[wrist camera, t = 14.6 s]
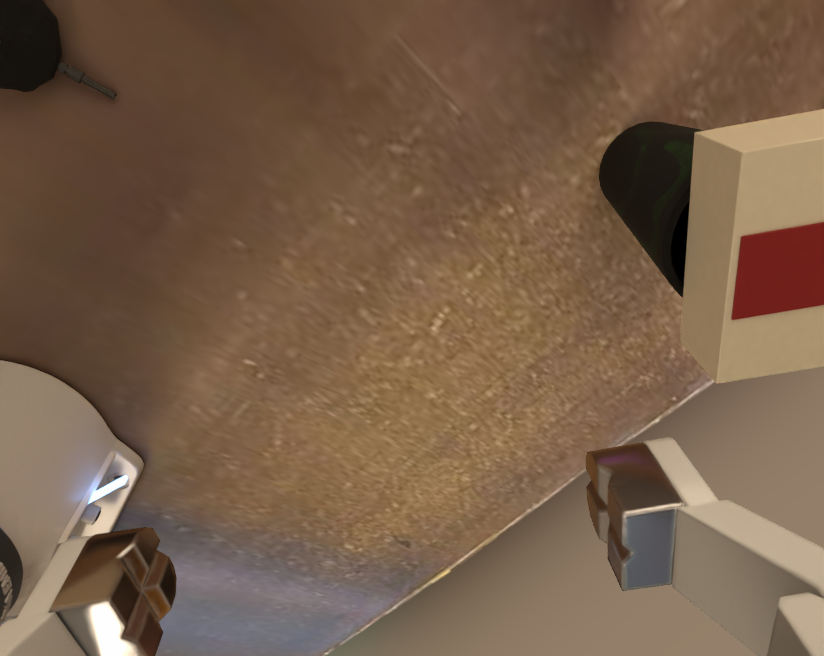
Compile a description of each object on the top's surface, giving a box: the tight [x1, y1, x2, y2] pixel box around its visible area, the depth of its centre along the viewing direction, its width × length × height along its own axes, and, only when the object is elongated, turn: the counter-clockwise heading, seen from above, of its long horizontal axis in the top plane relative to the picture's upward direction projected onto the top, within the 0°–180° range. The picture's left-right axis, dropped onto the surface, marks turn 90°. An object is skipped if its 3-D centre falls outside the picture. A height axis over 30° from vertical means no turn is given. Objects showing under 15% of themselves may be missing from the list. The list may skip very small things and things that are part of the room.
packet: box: [680, 109, 824, 383], centre depth 24 cm, size 10×6×4 cm, turn 10°
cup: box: [599, 122, 705, 297], centre depth 31 cm, size 8×8×12 cm
